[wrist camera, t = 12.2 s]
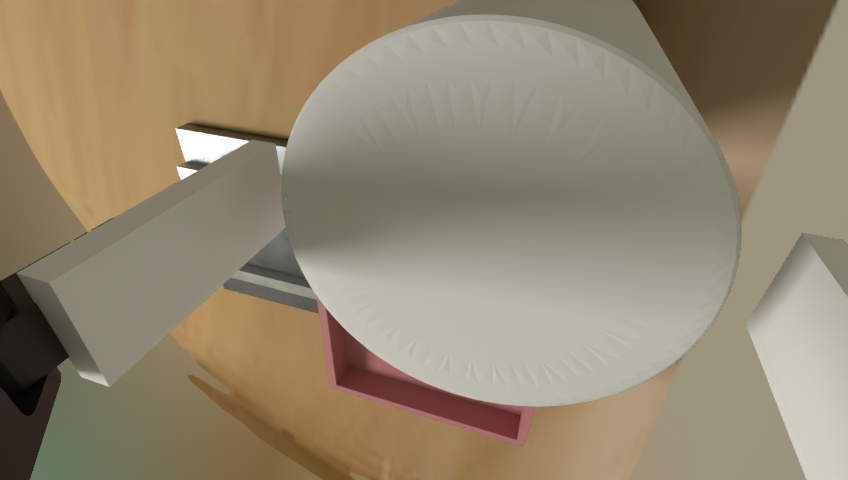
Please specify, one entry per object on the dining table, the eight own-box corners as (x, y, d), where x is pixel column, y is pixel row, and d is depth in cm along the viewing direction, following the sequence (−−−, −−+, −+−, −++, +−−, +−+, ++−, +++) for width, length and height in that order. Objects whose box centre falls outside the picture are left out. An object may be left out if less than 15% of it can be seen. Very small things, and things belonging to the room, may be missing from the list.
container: (483, 155, 30) (357, 397, 14) (448, -8, 25) (201, 85, 9) (647, 132, 26) (726, 432, 10) (643, -67, 21) (776, -77, 5)
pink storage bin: (353, 178, 31) (305, 226, 26) (575, 219, 28) (571, 283, 22) (364, 330, 40) (330, 387, 35) (534, 375, 36) (524, 447, 31)
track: (186, 123, 36) (166, 133, 35) (605, 192, 29) (606, 208, 27) (232, 281, 46) (217, 294, 44) (554, 364, 38) (552, 385, 37)
